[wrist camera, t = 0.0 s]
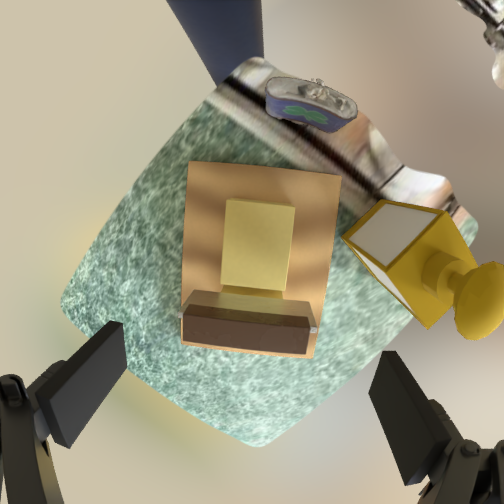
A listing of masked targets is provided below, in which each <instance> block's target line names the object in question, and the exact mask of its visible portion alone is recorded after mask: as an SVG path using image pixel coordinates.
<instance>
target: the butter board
mask: <svg viewBox="0 0 504 504" xmlns="http://www.w3.org/2000/svg"><path fill="white" fill-rule="evenodd" d="M341 179H342V176H339V175H332V174H325V173H318V172H310V171H303V170H294V169H286V168H277V167H267V166H257V165H245V164H233V163H219V162H202V161H189V165H188V176H187V188H186V202H185V217H184V234H183V255H182V286H181V307H182V305H183V304H184V303H185V301H186V300H187V298H188V297H189V295H190V294H191V293H192V291H193V290H194V289H197V290H205V291H213V292H221V290H222V288H223V286H224V284H220V277H221V263H222V249H223V236H224V223H225V211H226V200H228V199H231V198H239V199H250V200H260V201H270V202H279V203H288V204H292V205H294V206H295V215H294V224H293V232H292V240H291V249H290V257H289V265H288V272H287V280H286V287H285V291H282V293H283V299H286V300H297V301H308V302H310V306H311V309H312V312H313V315H314V318H315V321H316V324H317V327H318V328H317V333H310V336H309V342H308V347H307V351H306V355H301V354H287V353H275V352H265V351H255V350H245V349H237V348H228V347H221V346H213V345H206V344H199V343H193V342H186V341H183V319H182V318H181V344H184V345H190V346H197V347H203V348H210V349H218V350H225V351H233V352H242V353H251V354H261V355H271V356H283V357H296V358H311V359H312V358H313V354H314V349H315V345H316V340H317V335H318V330H319V325H320V320H321V315H322V310H323V304H324V299H325V293H326V288H327V282H328V276H329V270H330V263H331V257H332V250H333V244H334V237H335V229H336V222H337V214H338V206H339V198H340V189H341Z"/></svg>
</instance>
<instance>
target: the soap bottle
mask: <svg viewBox="0 0 504 504" xmlns="http://www.w3.org/2000/svg"><path fill="white" fill-rule="evenodd" d="M341 238H342V239H343V241H344V242H345V243H346V244H347V245H348V247H349V248H350V249H351V250H352V251H353V252H354V254H355V255H356V256H357V257H358V258H359V260H360V261H361V262H362V263H363V265H364V266H365V267H366V268H367V269H368V271H369V272H370V273H371V274H372V276H373V277H374V278H375V279H376V280H377V281H378V282H379V283H380V284H381V285H383V286H384V287H385V288H386V289H387V290H388V291H389V292H390V293H391V294H392V295H393V296H394V297H395V298H396V299H397V300H398V301H399V302H400V303H401V304H402V305H403V306H404V307H405V308H406V309H407V310H408V311H409V312H410V313H411V314H412V315H413V316H414V317H415V318H416V319H417V320H418V321H419V322H420V323H421V324H422V325H423V326H424V327H425V328H426V329H427V330H428V329H429V328H430V327H431V326H432V325H433V324H434V323H435V322H437V321H438V319H440V318H441V317H442V316H443V315H444V314H445V313H446V312H447V311H448V310H449V309H450V308H451V307H452V306H453V308H454V311H455V318H454V320H455V323H456V327H457V330H458V332H459V333H460V334H461V335H462V336H463V337H464V338H466V339H468V340H479V339H481V338H484V337H486V336H488V335H489V334H490V333H491V332H493V331H494V330H495V329H496V328H497V327H498V326H499V325H500V323H501V322H502V320H503V319H504V265H502V264H500V263H497V262H494V261H492V262H489V263H485V264H482V265H481V266H480V267H478V265H477V263H476V261H475V260H474V258H473V256H472V254H471V252H470V250H469V248H468V246H467V244H466V243H465V241H464V239H463V237H462V236H461V234H460V232H459V230H458V229H457V227H456V225H455V223H454V222H453V220H452V218H451V217H450V215H449V214H448V212H447V211H445V212H444V211H443V210H439V209H434V208H429V207H423V206H418V205H412V204H407V203H401V202H395V201H389V200H383V199H381V200H380V201H379V202H377V203H376V204H375V205H374V206H373V207H372V208H371V209H370V210H369V211H368V212H367V213H366V214H365V215H364V216H363V217H362V218H361V219H360V220H359V221H358V222H356V223H355V224H354V225H353V226H352V227H351V228H350V229H349V230H348V231H347V232H346V233H345V234H344V235H343V236H341Z"/></svg>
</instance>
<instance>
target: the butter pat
mask: <svg viewBox="0 0 504 504" xmlns="http://www.w3.org/2000/svg"><path fill="white" fill-rule="evenodd" d="M221 293H230V294H238V295H247V296H257V297H266V298H276V299H283V293H282V291H281V290H271V289H261V288H252V287H243V286H234V285H225V284H224V286H223V288H222V290H221Z"/></svg>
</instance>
